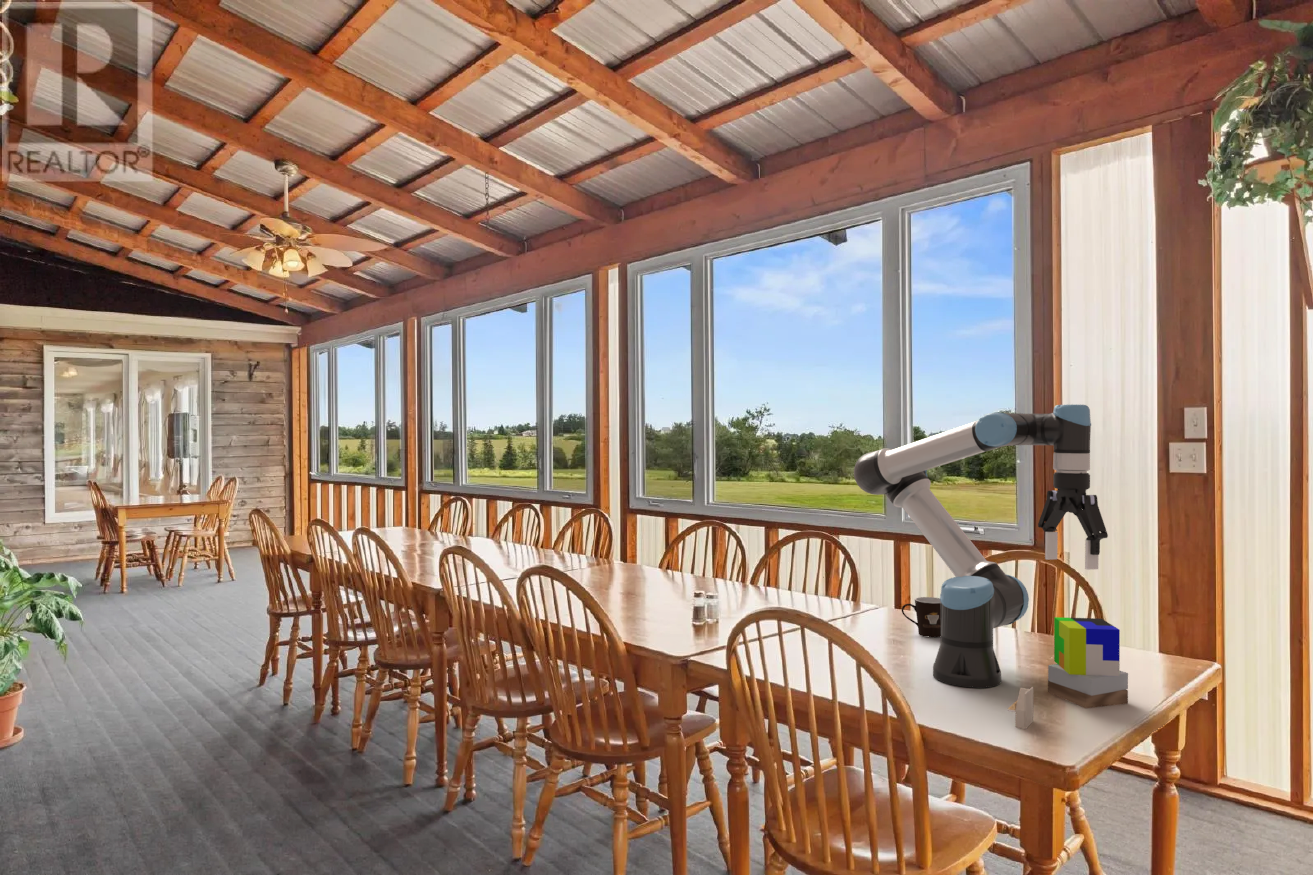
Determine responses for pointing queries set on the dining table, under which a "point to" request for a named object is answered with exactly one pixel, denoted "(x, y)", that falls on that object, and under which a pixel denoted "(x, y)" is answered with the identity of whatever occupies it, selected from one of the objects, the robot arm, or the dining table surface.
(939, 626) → the coffee mug
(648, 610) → the dining table surface
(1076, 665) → the puzzle toy
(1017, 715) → the architectural model
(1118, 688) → the slate-grey block
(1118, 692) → the walnut block
